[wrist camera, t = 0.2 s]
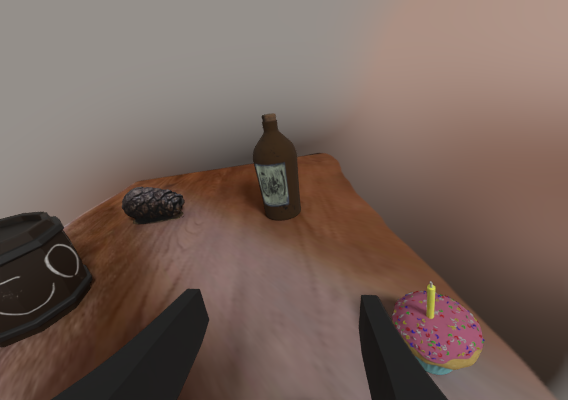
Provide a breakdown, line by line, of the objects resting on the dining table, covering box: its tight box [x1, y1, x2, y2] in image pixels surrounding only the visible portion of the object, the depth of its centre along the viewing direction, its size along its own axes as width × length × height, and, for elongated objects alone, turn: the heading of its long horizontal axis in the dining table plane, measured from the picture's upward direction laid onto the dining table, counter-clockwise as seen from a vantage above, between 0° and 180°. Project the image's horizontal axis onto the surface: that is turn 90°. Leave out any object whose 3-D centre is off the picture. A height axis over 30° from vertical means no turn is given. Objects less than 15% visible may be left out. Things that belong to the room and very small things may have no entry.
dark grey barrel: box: [0, 212, 92, 347], centre depth 43 cm, size 18×18×16 cm
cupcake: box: [392, 282, 484, 375], centre depth 27 cm, size 9×8×12 cm
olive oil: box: [253, 114, 301, 220], centre depth 62 cm, size 11×11×25 cm
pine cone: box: [122, 187, 184, 224], centre depth 74 cm, size 10×18×10 cm, turn 94°
